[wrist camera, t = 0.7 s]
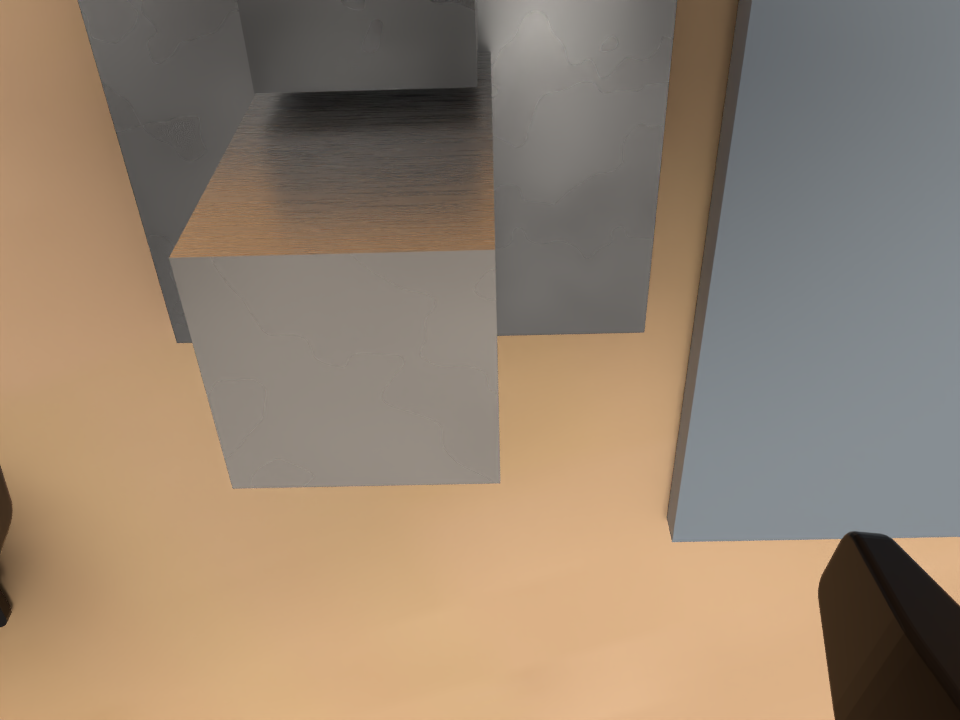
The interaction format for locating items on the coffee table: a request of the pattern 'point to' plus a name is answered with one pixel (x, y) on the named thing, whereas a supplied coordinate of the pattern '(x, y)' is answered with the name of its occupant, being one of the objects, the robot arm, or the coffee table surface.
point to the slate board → (829, 282)
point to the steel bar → (350, 289)
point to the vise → (421, 65)
